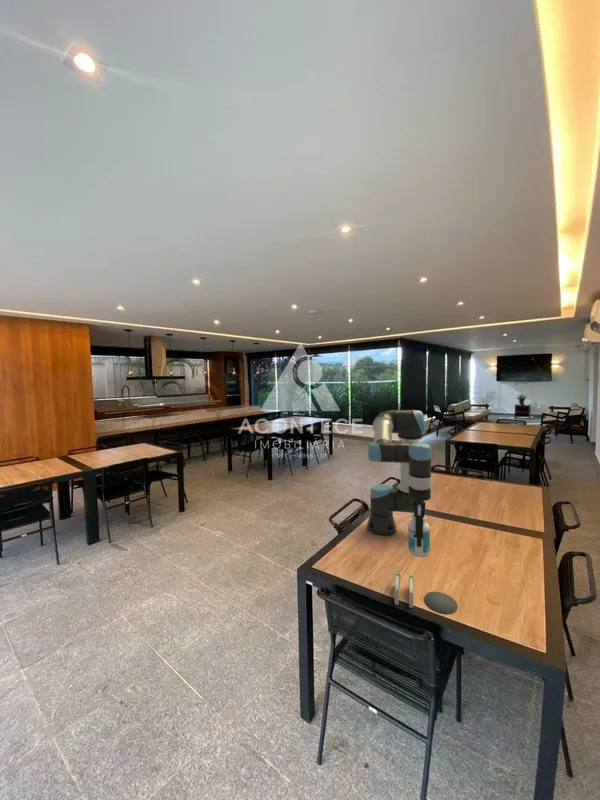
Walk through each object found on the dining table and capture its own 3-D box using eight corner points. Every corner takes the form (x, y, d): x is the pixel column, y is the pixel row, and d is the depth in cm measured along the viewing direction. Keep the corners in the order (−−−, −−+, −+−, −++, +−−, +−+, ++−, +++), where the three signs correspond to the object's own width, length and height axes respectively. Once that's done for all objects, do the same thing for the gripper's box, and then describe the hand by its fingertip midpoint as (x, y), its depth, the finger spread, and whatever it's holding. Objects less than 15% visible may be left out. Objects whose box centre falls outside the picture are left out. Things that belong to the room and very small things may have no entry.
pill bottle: (425, 547, 123) (425, 512, 122) (433, 558, 115) (433, 521, 114) (405, 547, 123) (405, 512, 122) (412, 558, 115) (412, 521, 114)
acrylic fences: (395, 584, 129) (395, 571, 128) (413, 588, 127) (413, 574, 126) (394, 604, 118) (394, 589, 117) (413, 608, 116) (413, 593, 115)
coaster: (423, 590, 125) (423, 589, 125) (455, 596, 122) (455, 594, 122) (424, 609, 115) (424, 608, 115) (459, 616, 111) (459, 615, 111)
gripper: (409, 477, 128) (409, 534, 130) (407, 495, 109) (406, 561, 111) (430, 479, 125) (429, 537, 127) (431, 498, 106) (430, 565, 108)
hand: (419, 548), depth 119 cm, fingers closed on pill bottle, 7 cm apart
